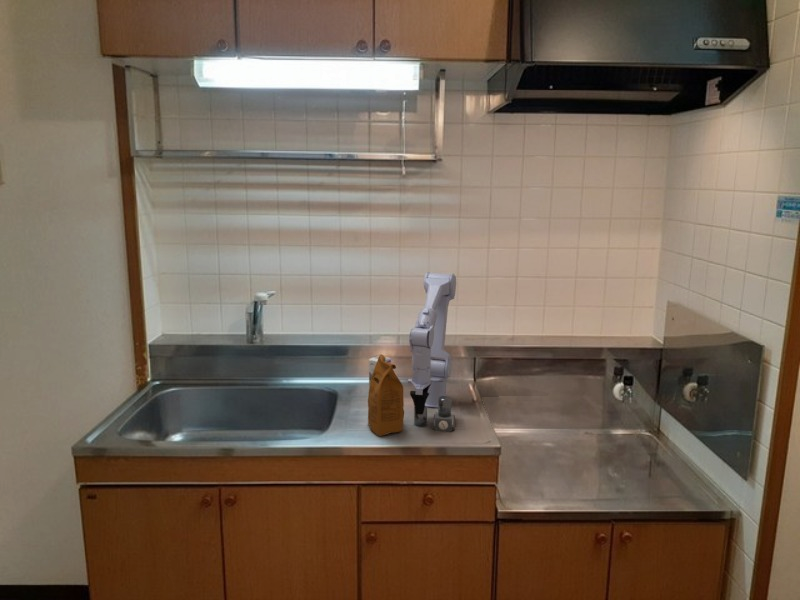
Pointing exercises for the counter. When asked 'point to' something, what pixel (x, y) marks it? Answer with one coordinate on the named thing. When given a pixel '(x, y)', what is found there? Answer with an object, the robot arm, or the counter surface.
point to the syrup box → (373, 363)
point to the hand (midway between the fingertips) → (420, 408)
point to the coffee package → (385, 399)
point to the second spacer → (420, 418)
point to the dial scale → (444, 423)
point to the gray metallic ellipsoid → (444, 406)
